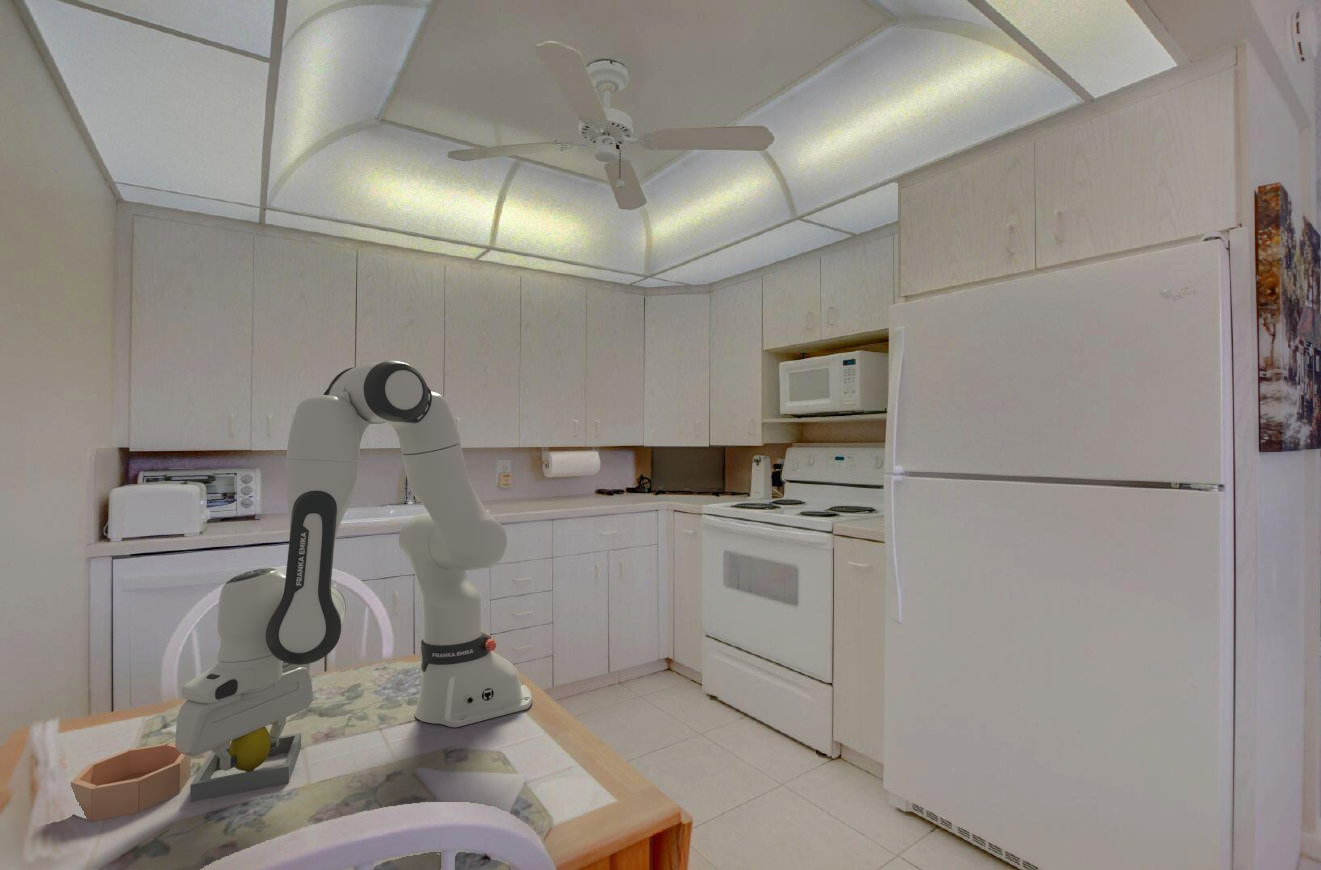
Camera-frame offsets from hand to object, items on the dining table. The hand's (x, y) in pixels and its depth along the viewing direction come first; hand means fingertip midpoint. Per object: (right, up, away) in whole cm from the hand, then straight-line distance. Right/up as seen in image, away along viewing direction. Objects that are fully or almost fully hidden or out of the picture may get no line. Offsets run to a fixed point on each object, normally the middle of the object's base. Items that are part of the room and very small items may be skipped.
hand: (250, 757), depth 99 cm
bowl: (-14, -2, -6) cm, 15 cm away
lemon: (0, -3, 0) cm, 3 cm away
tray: (0, -2, 0) cm, 2 cm away
